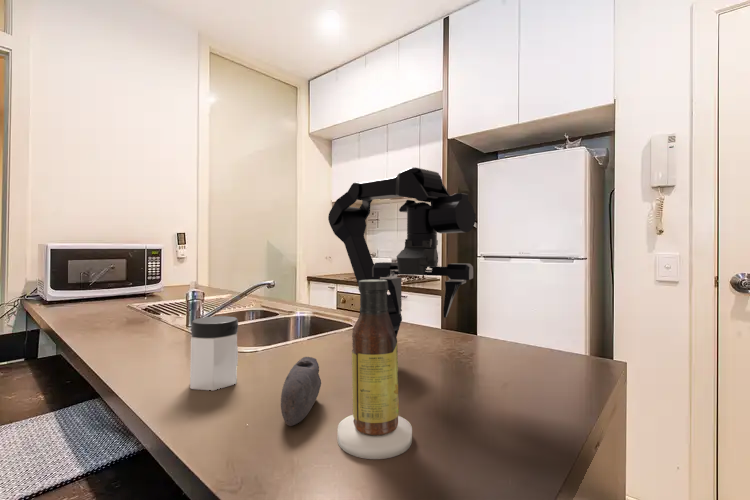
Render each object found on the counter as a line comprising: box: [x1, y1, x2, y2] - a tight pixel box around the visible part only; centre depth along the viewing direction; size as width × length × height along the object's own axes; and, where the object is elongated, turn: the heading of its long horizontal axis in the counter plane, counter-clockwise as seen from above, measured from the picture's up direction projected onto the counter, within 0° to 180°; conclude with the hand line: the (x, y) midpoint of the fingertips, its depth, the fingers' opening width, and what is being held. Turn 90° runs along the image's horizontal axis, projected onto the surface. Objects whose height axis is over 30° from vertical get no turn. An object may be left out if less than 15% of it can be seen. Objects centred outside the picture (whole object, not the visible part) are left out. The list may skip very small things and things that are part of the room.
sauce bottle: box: [351, 280, 400, 436], centre depth 50 cm, size 6×6×20 cm
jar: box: [189, 315, 239, 392], centre depth 70 cm, size 9×8×12 cm
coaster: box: [337, 414, 413, 460], centre depth 50 cm, size 10×10×2 cm
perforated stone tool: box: [280, 356, 322, 427], centre depth 58 cm, size 15×5×7 cm, turn 177°
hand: (421, 315), depth 71 cm, fingers open, 9 cm apart
